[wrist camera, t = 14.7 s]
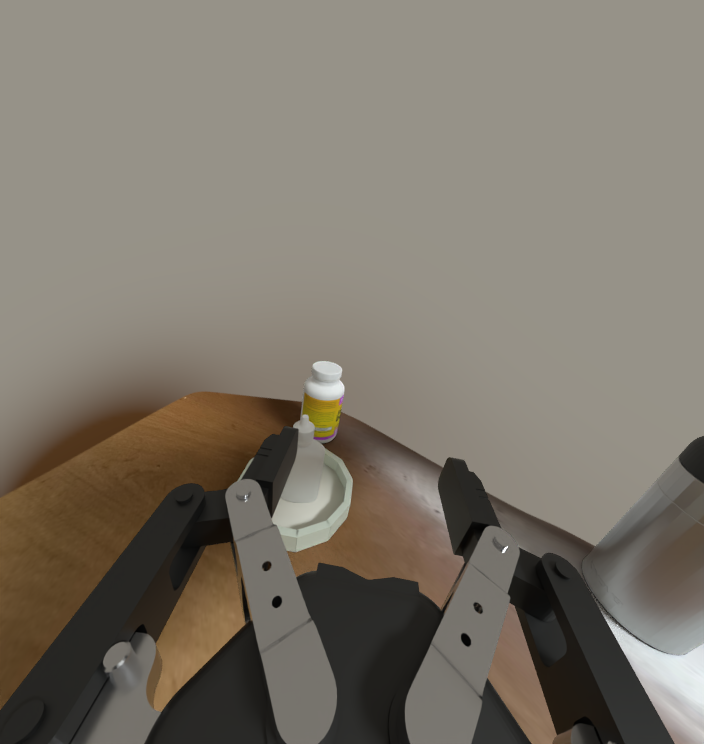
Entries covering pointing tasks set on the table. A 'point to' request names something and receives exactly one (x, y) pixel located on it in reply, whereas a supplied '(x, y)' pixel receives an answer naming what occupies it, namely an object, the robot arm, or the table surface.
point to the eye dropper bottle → (305, 466)
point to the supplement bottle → (323, 400)
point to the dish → (315, 508)
